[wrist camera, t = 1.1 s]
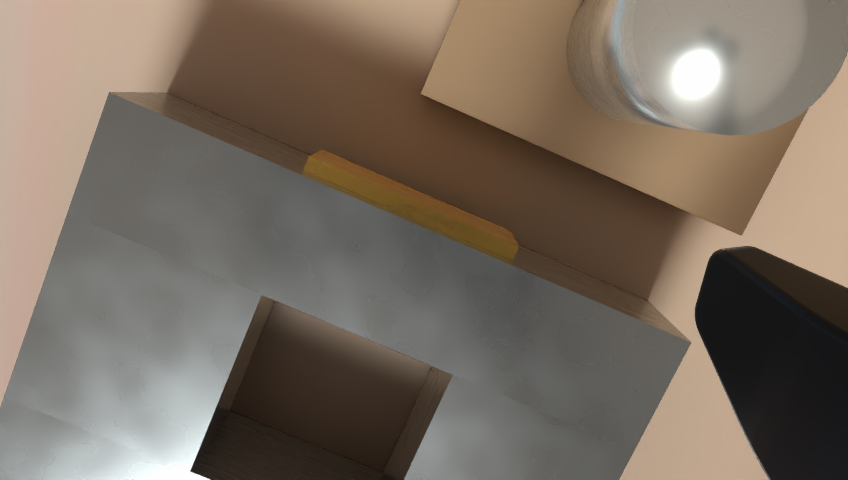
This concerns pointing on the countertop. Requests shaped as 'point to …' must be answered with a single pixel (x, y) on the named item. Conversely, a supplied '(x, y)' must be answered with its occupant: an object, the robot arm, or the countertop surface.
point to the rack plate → (319, 297)
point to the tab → (593, 113)
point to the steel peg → (706, 60)
